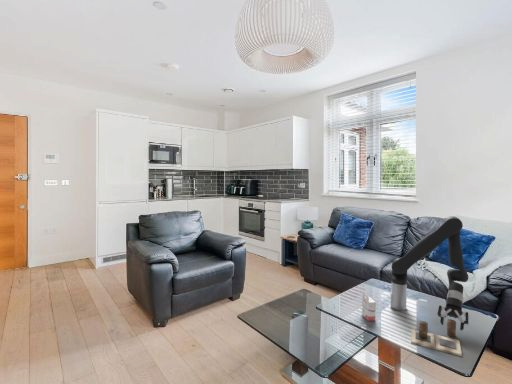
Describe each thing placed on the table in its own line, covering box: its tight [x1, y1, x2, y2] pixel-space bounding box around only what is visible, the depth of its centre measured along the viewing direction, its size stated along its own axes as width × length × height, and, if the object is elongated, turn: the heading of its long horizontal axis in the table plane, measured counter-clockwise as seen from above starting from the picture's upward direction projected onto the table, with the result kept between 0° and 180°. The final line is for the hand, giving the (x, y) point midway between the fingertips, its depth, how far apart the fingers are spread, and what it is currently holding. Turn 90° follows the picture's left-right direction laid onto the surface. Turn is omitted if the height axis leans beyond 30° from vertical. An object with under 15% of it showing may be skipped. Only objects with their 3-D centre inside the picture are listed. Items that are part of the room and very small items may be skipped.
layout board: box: [410, 328, 463, 357], centre depth 148 cm, size 22×14×1 cm, turn 59°
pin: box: [418, 320, 429, 339], centre depth 151 cm, size 4×4×8 cm
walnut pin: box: [446, 319, 457, 338], centre depth 155 cm, size 4×4×8 cm
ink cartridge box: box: [361, 292, 377, 322], centre depth 175 cm, size 9×5×15 cm, turn 5°
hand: (451, 327), depth 154 cm, fingers open, 8 cm apart
